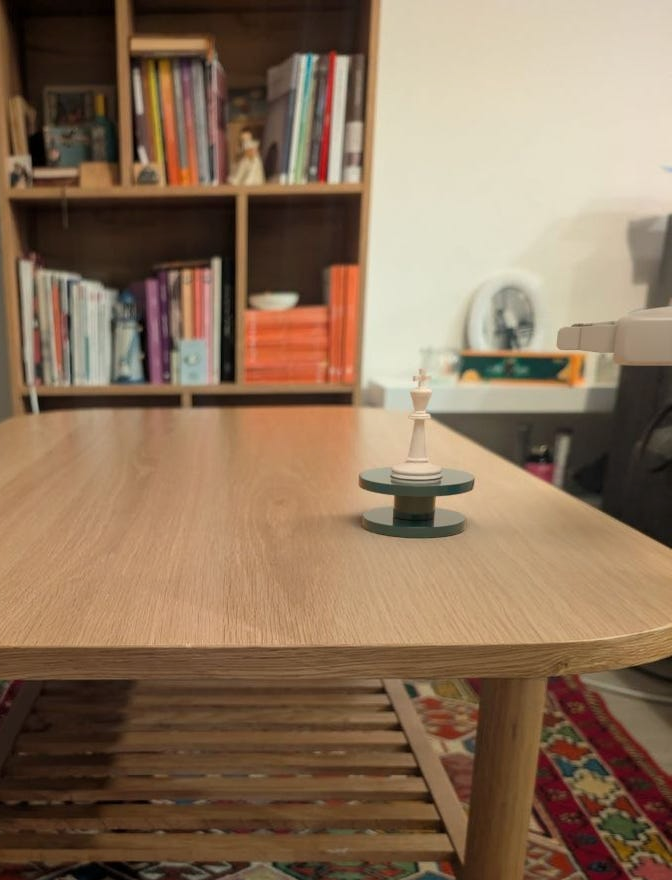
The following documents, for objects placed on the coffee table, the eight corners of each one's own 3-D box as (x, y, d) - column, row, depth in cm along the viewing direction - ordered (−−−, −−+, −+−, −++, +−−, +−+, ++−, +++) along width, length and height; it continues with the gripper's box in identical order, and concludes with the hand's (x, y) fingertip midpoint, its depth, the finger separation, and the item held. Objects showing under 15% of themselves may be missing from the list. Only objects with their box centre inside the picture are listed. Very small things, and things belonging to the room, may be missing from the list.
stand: (465, 515, 98) (468, 466, 96) (476, 540, 87) (481, 486, 86) (357, 513, 100) (359, 465, 98) (356, 537, 89) (358, 485, 88)
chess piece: (381, 473, 93) (386, 368, 90) (425, 469, 95) (432, 366, 91) (406, 481, 89) (412, 371, 85) (452, 478, 90) (460, 369, 87)
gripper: (744, 386, 69) (545, 383, 75) (733, 367, 86) (571, 365, 92) (760, 294, 67) (554, 298, 73) (745, 293, 84) (579, 296, 90)
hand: (564, 335), depth 83 cm, fingers open, 8 cm apart
